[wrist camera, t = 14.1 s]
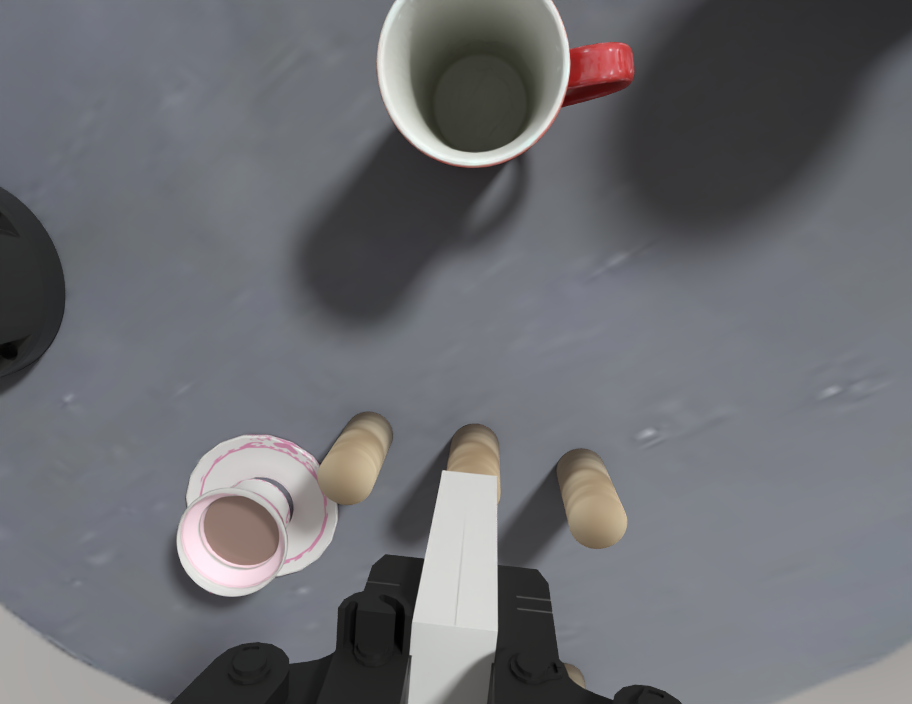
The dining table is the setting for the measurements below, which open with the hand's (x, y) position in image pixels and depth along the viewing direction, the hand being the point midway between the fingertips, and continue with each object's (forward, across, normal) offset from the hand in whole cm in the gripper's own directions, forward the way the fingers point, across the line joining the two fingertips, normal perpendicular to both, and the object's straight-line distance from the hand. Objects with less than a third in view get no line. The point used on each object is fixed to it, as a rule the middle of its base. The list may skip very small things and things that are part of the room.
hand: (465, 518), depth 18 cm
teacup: (+29, -16, -16) cm, 37 cm away
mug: (+29, 0, +15) cm, 33 cm away
